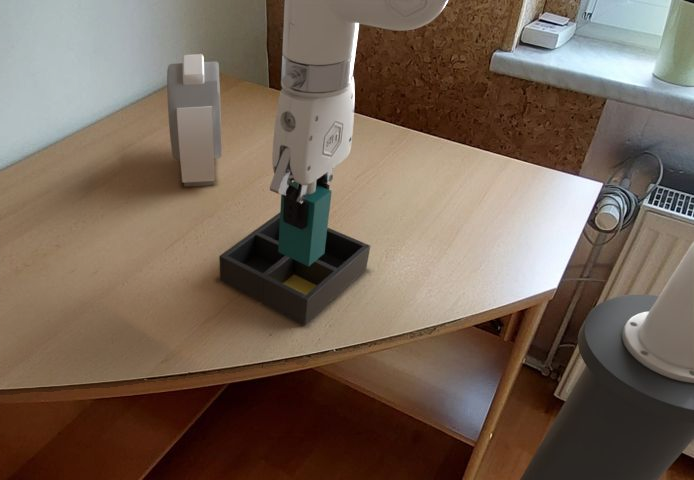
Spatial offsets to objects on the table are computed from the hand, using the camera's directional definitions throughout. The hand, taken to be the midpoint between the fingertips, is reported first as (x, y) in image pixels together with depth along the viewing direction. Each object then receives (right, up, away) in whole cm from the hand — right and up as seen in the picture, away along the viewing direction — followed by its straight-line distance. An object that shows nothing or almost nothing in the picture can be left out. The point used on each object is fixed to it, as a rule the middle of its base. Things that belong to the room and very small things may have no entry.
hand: (304, 215), depth 78 cm
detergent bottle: (0, -4, +4) cm, 6 cm away
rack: (+1, -6, +13) cm, 15 cm away
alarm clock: (-13, +16, +37) cm, 42 cm away
